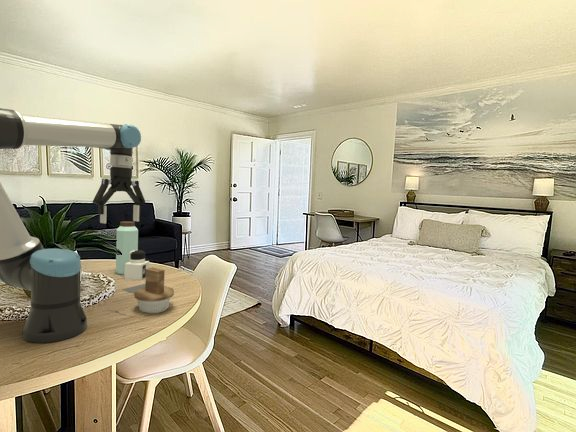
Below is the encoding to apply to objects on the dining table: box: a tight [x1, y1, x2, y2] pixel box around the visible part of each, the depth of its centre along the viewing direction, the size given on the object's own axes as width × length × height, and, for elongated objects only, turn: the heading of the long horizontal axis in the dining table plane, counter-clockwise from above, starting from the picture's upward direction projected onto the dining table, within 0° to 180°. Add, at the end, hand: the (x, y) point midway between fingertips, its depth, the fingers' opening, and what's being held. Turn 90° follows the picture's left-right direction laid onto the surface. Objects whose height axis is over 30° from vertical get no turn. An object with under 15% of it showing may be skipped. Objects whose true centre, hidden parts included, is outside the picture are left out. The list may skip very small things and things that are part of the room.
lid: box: [133, 267, 175, 301], centre depth 115 cm, size 13×13×9 cm
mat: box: [121, 283, 174, 295], centre depth 135 cm, size 14×14×1 cm
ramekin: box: [136, 297, 172, 315], centre depth 116 cm, size 11×11×5 cm
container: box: [124, 249, 150, 281], centre depth 151 cm, size 8×8×13 cm
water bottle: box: [115, 221, 139, 276], centre depth 158 cm, size 10×10×25 cm
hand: (120, 222), depth 126 cm, fingers open, 13 cm apart
